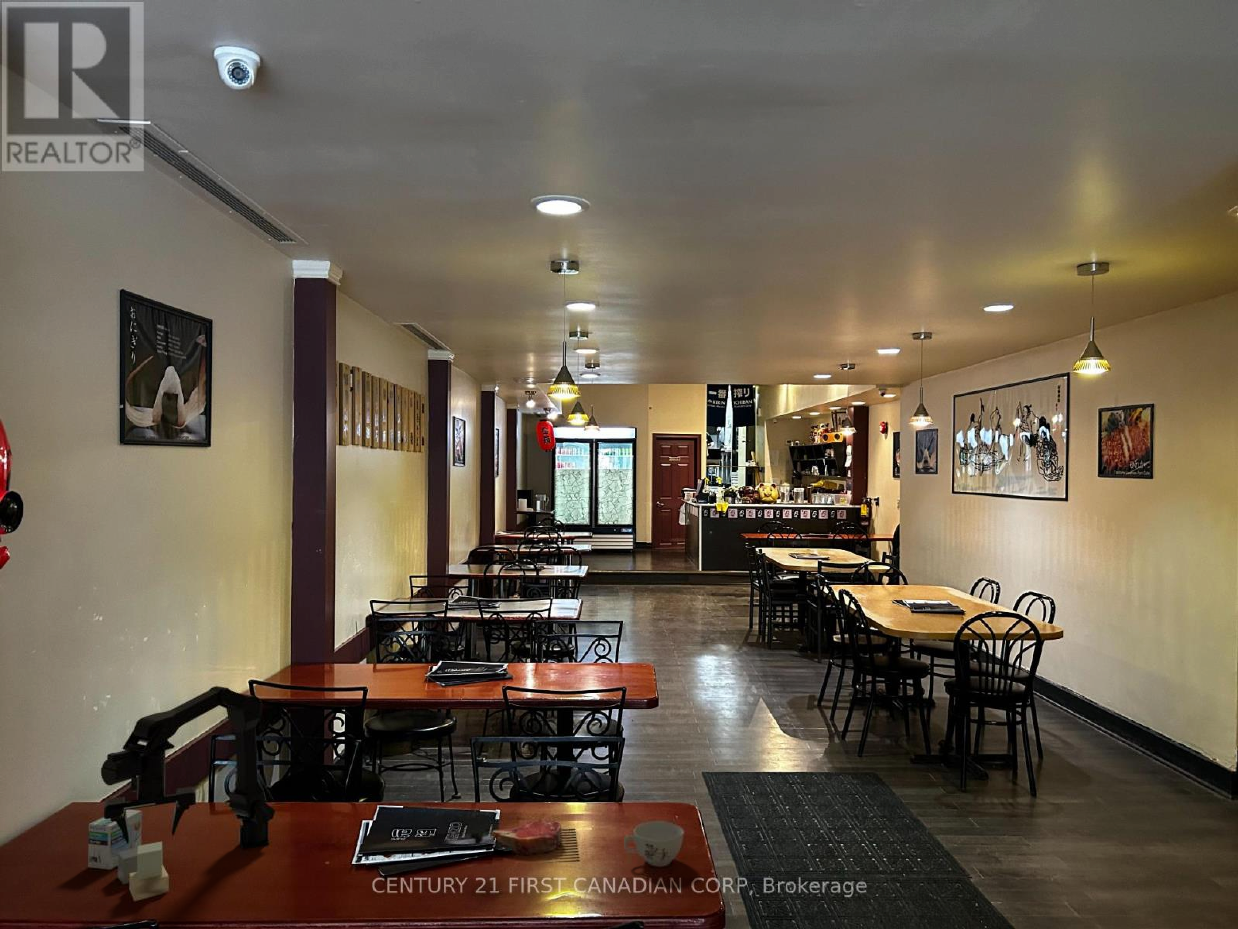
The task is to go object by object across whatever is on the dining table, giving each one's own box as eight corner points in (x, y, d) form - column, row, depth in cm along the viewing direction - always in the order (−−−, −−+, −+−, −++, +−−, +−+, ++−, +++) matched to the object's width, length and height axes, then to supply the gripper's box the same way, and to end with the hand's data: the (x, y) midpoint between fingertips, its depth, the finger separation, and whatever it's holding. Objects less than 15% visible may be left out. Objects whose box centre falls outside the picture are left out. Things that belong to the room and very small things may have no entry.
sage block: (162, 866, 203) (162, 841, 203) (161, 875, 198) (161, 849, 198) (138, 871, 200) (138, 846, 200) (137, 880, 196) (137, 854, 196)
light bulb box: (110, 870, 209) (110, 826, 209) (86, 868, 210) (87, 824, 210) (142, 852, 219) (143, 809, 220) (120, 849, 221) (120, 807, 221)
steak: (575, 830, 234) (575, 810, 234) (580, 865, 213) (580, 843, 213) (483, 835, 231) (483, 814, 231) (479, 870, 211) (479, 848, 211)
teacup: (679, 850, 220) (679, 819, 220) (687, 872, 208) (687, 839, 208) (621, 852, 219) (622, 821, 219) (626, 874, 207) (626, 841, 207)
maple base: (162, 882, 204) (162, 865, 204) (168, 893, 198) (168, 876, 198) (129, 890, 199) (129, 873, 199) (134, 902, 194) (134, 884, 194)
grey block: (140, 870, 209) (140, 846, 209) (146, 877, 205) (146, 852, 205) (117, 877, 205) (118, 852, 205) (123, 884, 202) (123, 859, 202)
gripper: (194, 756, 211) (193, 819, 211) (106, 768, 202) (105, 834, 202) (196, 769, 201) (195, 836, 201) (104, 782, 192) (103, 852, 192)
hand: (150, 839), depth 199 cm, fingers open, 9 cm apart
